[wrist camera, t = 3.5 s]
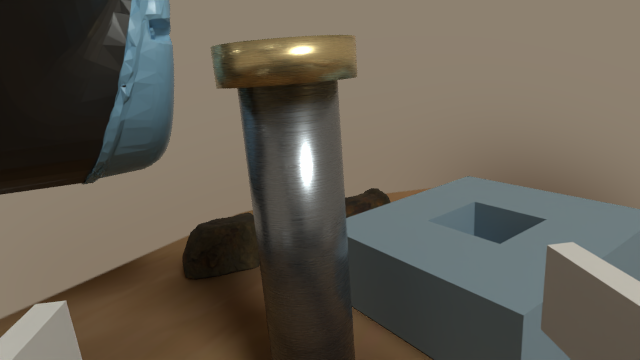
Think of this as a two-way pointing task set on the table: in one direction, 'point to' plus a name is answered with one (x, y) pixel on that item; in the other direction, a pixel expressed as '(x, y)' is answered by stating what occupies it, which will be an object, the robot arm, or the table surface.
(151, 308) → the table surface
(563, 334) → the robot arm
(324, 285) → the pin
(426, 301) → the socket block
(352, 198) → the dark brown wooden club
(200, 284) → the table surface
